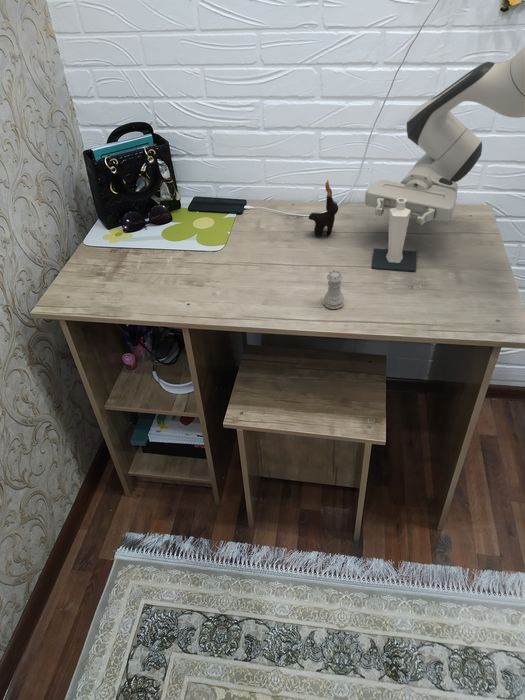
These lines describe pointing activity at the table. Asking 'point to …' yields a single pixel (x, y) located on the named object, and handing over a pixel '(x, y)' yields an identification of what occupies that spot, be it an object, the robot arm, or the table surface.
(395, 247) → the perfume bottle
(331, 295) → the rook chess piece
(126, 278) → the table surface
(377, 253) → the mat
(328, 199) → the figurine
